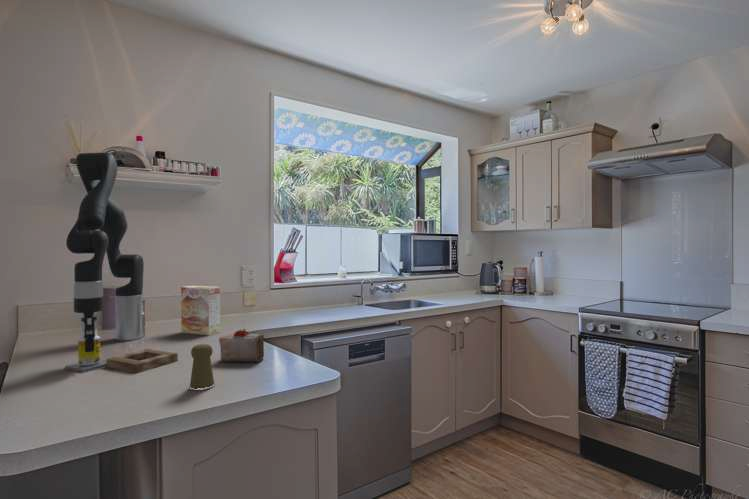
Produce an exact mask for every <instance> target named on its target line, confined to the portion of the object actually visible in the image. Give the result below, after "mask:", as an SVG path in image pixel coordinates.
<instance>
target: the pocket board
mask: <svg viewBox="0 0 749 499" xmlns="http://www.w3.org/2000/svg"><path fill="white" fill-rule="evenodd" d="M178 354H179V353H178V352H171V351H164V350H159V349H152V348H146V349H141V350H138V351H134V352H129V353H125V354H121V355H117V356H113V357H108V358H106V359H105V361H106V368H111V369H115V368H116V370H120V369H121V370H122V371H126V372H131V371H132V372H131V373H136V372H138V373H141V372H144V371H147V370H146V369H148V370H151V369H154V368H153V367H155V368H158V367H161V365H162V366H165V365H167V364H172V363H175V362H178V361H179V360H178V358H179V356H178ZM174 361H175V362H174ZM171 362H172V363H171ZM164 364H165V365H164ZM157 366H158V367H157ZM150 368H151V369H150ZM143 370H144V371H143ZM140 371H141V372H140Z"/></svg>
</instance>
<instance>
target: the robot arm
mask: <svg viewBox="0 0 749 499" xmlns="http://www.w3.org/2000/svg"><path fill="white" fill-rule="evenodd" d="M75 161H76V162H75V163H76V168H77V171H78V172H77V173H78V174H79V177H80V178H81V179H80V180H81V182H82V184H83V186H84V189H85V191H86V193H87V194H86V195H85V196H84V197H83V199H82V200H81V202H80V205H79V209H78V215H77V220H76V221H75V223H74V225H73V226H72V228H71V230H70V231H69V232H68V234H67V237H66V242H65V244H66V248H67V249H68V250H69V251H70V252H71V254H77V255H78V254H79V255H81V254H82V255H83V254H93V257H92V258H90V259H88V260H85V261H84V260H83V261H79V262H76V263H75V265H74V267H73V268H74V270H73V271H74V285H73V312H74V313H77V314H83V317H81V318H80V319H81V320H80V322H81V323H80V324H81V326H82V330H81V332H83V333H84V334H85V336H84V339H85V352H93V351H94V338H95V332H96V330H97V323H98V317H97V316H94V314H95V313H96V312H97V313H98V312H102V311H103V310H104V284H103V265H104V259H105V256H107V261H108V265H109V270H110V272H111V274H112V275H113V277H114V278H116V279H119V278H120V279H122V278H123V279H129V278H130V281H129V282H128V283H126V284H125V285H123V286H119V287H116V289H115V293H114V294H115V340H116V341H134V340H138V339H142V338H144V337H146V314H145V312H143V288H144V263H145V262H144V260H143V256H141V255H140V254H122V253H121V250H120V245H121V242H122V240H123V238H124V236H125V234H126V233H127V229H128V221H127V218H126V214H125V211H124V209H123V208H122V207H121V205H120V204H119V203H117V201H116V200H115V199H113V198H112V197H111V193H112V190H113V188H114V185H115V182H116V179H117V176H118V163H117V160H116V158H115V156H114V155H113V154H112V153H110V152H81V153H79V154H77V156H76V160H75ZM87 333H92V334H87ZM86 334H87V335H86Z"/></svg>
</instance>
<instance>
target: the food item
mask: <svg viewBox="0 0 749 499" xmlns="http://www.w3.org/2000/svg"><path fill="white" fill-rule="evenodd" d="M218 342H219V346H220V363H260V362H262V361H261V360H262V359H263V357H264V358H265V351H264V349H265V346H264V345H265V344H264V343H265V336H264V334H261V333H249V331H247V330H246V329H245V328H244V329H239V330H238V329H237V331H235V333H230V334H223V335H221V336H220V337H219V339H218ZM263 360H264V359H263ZM259 361H260V362H259Z"/></svg>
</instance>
